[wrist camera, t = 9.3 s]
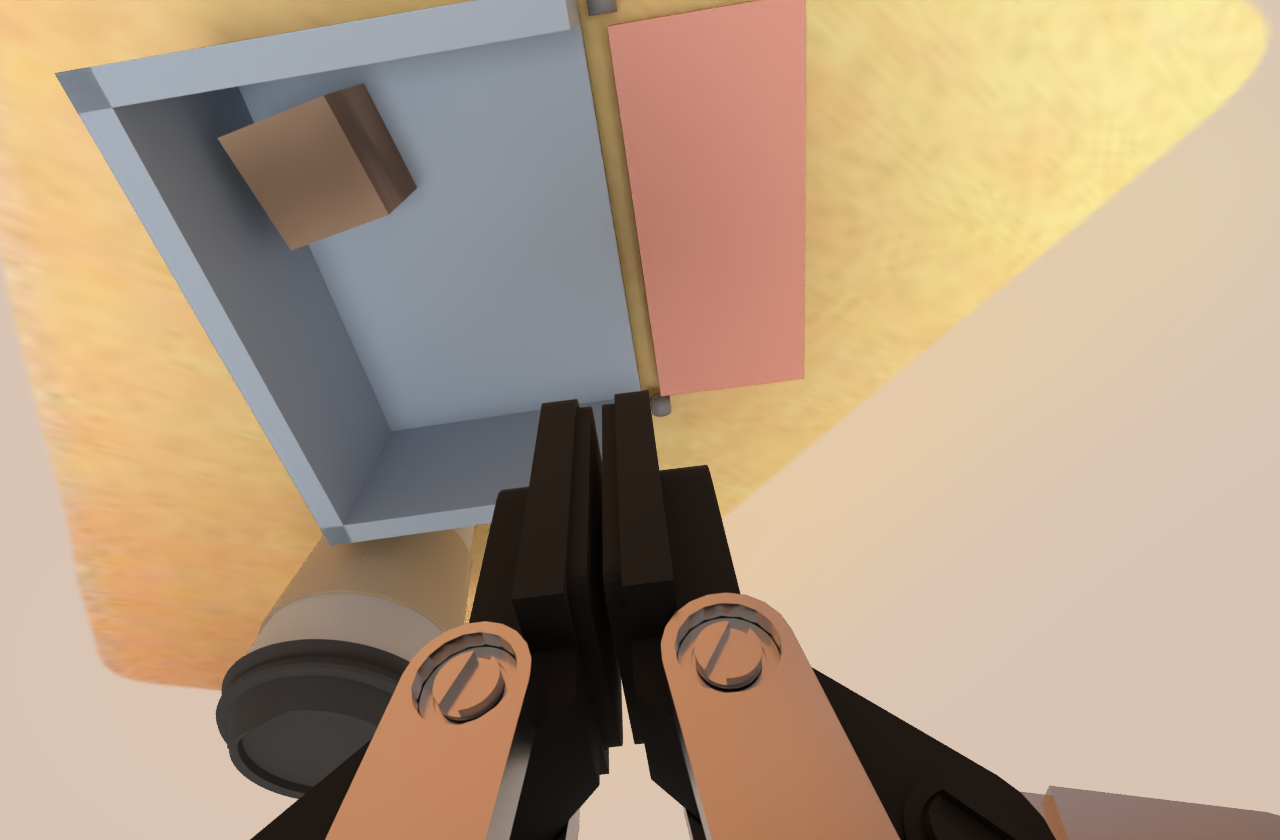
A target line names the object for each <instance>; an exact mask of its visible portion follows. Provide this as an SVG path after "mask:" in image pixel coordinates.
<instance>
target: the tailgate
mask: <svg viewBox="0 0 1280 840" xmlns="http://www.w3.org/2000/svg"><path fill="white" fill-rule="evenodd" d="M607 28H608V35H609V42H610V48H611V55H612V62H613V69H614V76H615V83H616V90H617V97H618V103H619V110H620V117H621V124H622V131H623V138H624V145H625V152H626V159H627V165H628V172H629V179H630V186H631V193H632V200H633V207H634V214H635V220H636V227H637V234H638V241H639V248H640V255H641V262H642V269H643V276H644V282H645V289H646V296H647V303H648V310H649V317H650V324H651V331H652V338H653V344H654V351H655V358H656V365H657V372H658V379H659V386H660V393H661V396H667V395H675V394H683V393H692V392H700V391H708V390H716V389H724V388H732V387H740V386H748V385H756V384H764V383H772V382H780V381H789V380H797V379H804V286H805V73H806V0H758V1H752V2H746V3H740V4H734V5H728V6H722V7H717V8H711V9H705V10H699V11H693V12H687V13H681V14H675V15H669V16H663V17H658V18H652V19H646V20H640V21H634V22H628V23H622V24H616V25H610V26H608V27H607Z"/></svg>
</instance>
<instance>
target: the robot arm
mask: <svg viewBox="0 0 1280 840" xmlns="http://www.w3.org/2000/svg"><path fill="white" fill-rule="evenodd" d="M614 402H615V403H613V404H605V405H602V459H601V453H600V447H599V442H598V436H597V430H596V425H595V419H594V414H593V409H592V406H588V407H580V406H579V402H578V400H577V399H571V400H563V401H555V402H547V403H542V406H541V412H540V418H539V424H538V431H537V437H536V444H535V450H534V456H533V463H532V469H531V476H530V482H529V487H521V488H513V489H505V490H501V491H500V492H499V493H498V496H497V499H496V504H495V508H494V513H493V517H492V522H491V526H490V531H489V535H488V540H487V544H486V549H485V553H484V558H483V563H482V567H481V572H480V576H479V581H478V585H477V590H476V594H475V599H474V603H473V608H472V612H471V617H470V621H469V623H468V624H464V625H461V626H459V627H456V628H453V629H451V630H448V631H446V632H444V633H443V634H441V635H439V636H438V637H436V638H435V639H433V640H432V641H430V642H428V643H427V644H426V645H425V646H424V647H423V648H422V649H421V650H420V651H419V652H418V653H417V654H416V655H415V656H414V657H413V659H412V660H411V662H410V663H409V665H408V666H407V668H406V670H405V671H404V673H403V674H402V676H401V678H400V680H399V683H398V685H397V687H396V689H395V691H394V693H393V695H392V698H391V700H390V702H389V704H388V706H387V708H386V710H385V713H384V715H383V717H382V719H381V721H380V723H379V725H378V728H377V730H376V732H375V734H374V736H373V738H372V739H371V740H370V741H368V742H367V743H366V744H365V745H364V746H362V747H361V748H360V749H359V750H357V751H356V752H355V753H354V754H353V755H351V756H350V757H349V758H348V759H347V760H345V761H344V762H343V763H342V764H341V765H339V766H338V767H337V768H336V769H335V770H333V771H332V772H331V773H330V774H329V775H327V776H326V777H325V778H324V779H323V780H321V781H320V782H319V783H318V784H317V785H315V786H314V787H313V788H312V789H311V790H309V791H308V792H307V793H306V794H305V795H303V796H302V797H301V798H300V799H299V800H297V801H296V802H295V803H294V804H293V805H291V806H290V807H289V808H288V809H287V810H285V811H284V812H283V813H282V814H281V815H279V816H278V817H277V818H276V819H274V820H273V821H272V822H271V823H270V824H268V825H267V826H266V827H265V828H264V829H263V830H261V831H260V832H259V833H258V834H256V835H255V836H254V837H253V838H252V839H251V840H577V838H578V832H579V814H580V810H579V808H580V807H581V806H582V805H583V803H584V802H585V801H586V800H587V799H588V798H589V796H590V795H591V794H592V793H593V792H594V791H595V790H596V788H597V787H598V786H599V775H601V774H609V747H616V746H622V744H623V727H622V696H621V695H622V694H621V680H622V684H623V689H624V694H625V699H626V704H627V709H628V714H629V719H630V724H631V728H632V734H633V739H634V743H635V744H643V743H644V744H645V749H646V754H647V760H648V765H649V770H650V776H651V779H652V780H653V781H654V782H655V783H656V784H658V785H659V786H660V787H661V788H662V789H663V790H665V791H666V792H667V793H668V794H669V795H671V796H672V797H673V798H674V799H675V800H676V801H678V802H679V803H680V804H681V805H682V806H683V808H684V815H685V819H686V823H687V827H688V831H689V835H690V839H691V840H1280V816H1279V815H1275V814H1271V813H1268V812H1260V811H1253V810H1244V809H1236V808H1228V807H1220V806H1212V805H1203V804H1195V803H1186V802H1178V801H1170V800H1162V799H1154V798H1146V797H1138V796H1128V795H1121V794H1113V793H1105V792H1096V791H1088V790H1080V789H1072V788H1064V787H1055V786H1049V788H1048V790H1047V792H1046V794H1045V795H1042V794H1034V793H1026V792H1019V791H1018V790H1016V789H1015V788H1014V787H1012V786H1011V785H1009V784H1008V783H1007V782H1006V781H1004V780H1003V779H1001V778H1000V777H999V776H997V775H996V774H994V773H992V772H990V771H989V770H987V769H985V768H984V767H982V766H980V765H978V764H977V763H975V762H973V761H972V760H970V759H968V758H967V757H965V756H963V755H961V754H960V753H958V752H956V751H955V750H953V749H951V748H949V747H948V746H946V745H944V744H943V743H940V742H939V741H937V740H936V739H934V738H932V737H930V736H929V735H927V734H925V733H924V732H922V731H920V730H918V729H917V728H915V727H913V726H912V725H910V724H908V723H906V722H905V721H903V720H901V719H899V718H898V717H896V716H894V715H893V714H891V713H889V712H888V711H886V710H884V709H882V708H881V707H879V706H877V705H876V704H874V703H872V702H870V701H869V700H867V699H865V698H863V697H862V696H860V695H858V694H857V693H855V692H853V691H851V690H850V689H848V688H846V687H845V686H843V685H841V684H840V683H838V682H836V681H834V680H833V679H831V678H829V677H827V676H826V675H824V674H822V673H821V672H819V671H817V670H816V669H814V668H812V667H811V666H810V664H809V662H808V660H807V658H806V656H805V654H804V652H803V650H802V648H801V646H800V644H799V642H798V640H797V638H796V637H795V635H794V633H793V631H792V629H791V628H790V626H789V625H788V624H787V622H786V621H785V619H784V618H783V617H782V615H781V614H780V613H779V612H777V611H776V610H775V609H773V608H772V607H770V606H769V605H768V604H767V603H765V602H763V601H760V600H758V599H755V598H753V597H750V596H748V595H741V594H740V591H739V587H738V583H737V579H736V575H735V571H734V567H733V563H732V559H731V555H730V551H729V547H728V543H727V539H726V535H725V531H724V527H723V522H722V518H721V514H720V510H719V506H718V502H717V498H716V494H715V490H714V486H713V482H712V478H711V474H710V471H709V468H708V466H707V465H702V466H693V467H685V468H677V469H669V470H661V471H659V466H658V458H657V451H656V443H655V436H654V428H653V421H652V414H651V406H650V399H649V392H648V390H644V391H636V392H628V393H620V394H614Z"/></svg>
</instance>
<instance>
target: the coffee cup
mask: <svg viewBox="0 0 1280 840" xmlns="http://www.w3.org/2000/svg"><path fill="white" fill-rule="evenodd" d="M474 527H475V526H469V527H462V528H454V529H447V530H440V531H433V532H425V533H418V534H411V535H404V536H396V537H389V538H382V539H375V540H367V541H360V542H353V543H346V544H338V545H331V546H330V544H329V543H328V541H327V539H326V537H325V536H324V535H323V536H322V538H321V539H320V541H319V542H318V544H317V545H316V546H315V548H314V549H313V551H312V552H311V554H310V555H309V556H308V558H307V559H306V561H305V562H304V564H303V565H302V567H301V568H300V569H299V571H298V572H297V574H296V575H295V577H294V578H293V579H292V581H291V582H290V584H289V585H288V587H287V588H286V590H285V591H284V592H283V594H282V595H281V597H280V598H279V600H278V601H277V602H276V604H275V605H274V607H273V608H272V610H271V611H270V612H269V614H268V615H267V617H266V618H265V620H264V621H263V623H262V625H261V627H260V630H259V635H258V637H257V639H256V640H255V642H254V643H253V645H252V646H251V648H250V649H249V651H248V652H247V654H246V655H245V656H244V657H242V658H241V659H239V660H238V661H237V662H236V663H235V664H234V665H233V666H232V667H231V668H230V669H229V671H228V672H227V674H226V675H225V678H224V680H223V684H222V696H221V698H220V700H219V703H218V705H217V710H216V721H217V725H218V728H219V731H220V734H221V736H222V737H223V739H224V741H225V742H226V743H227V748H228V749H229V753H230V757H231V760H232V762H233V764H234V765H235V767H236V768H237V769H238V770H239V771H240V772H241V773H242V774H243V775H244V776H245V777H246V778H248V779H249V780H251V781H252V782H254V783H256V784H257V785H259V786H261V787H263V788H265V789H268V790H270V791H273V792H275V793H278V794H281V795H284V796H288V797H292V798H297V799H300V798H301V797H302V796H303V795H305V794H306V793H307V792H308V791H309V790H311V789H312V788H313V787H314V786H315V785H317V784H318V783H319V782H320V781H321V780H323V779H324V778H325V777H326V776H327V775H329V774H330V773H331V772H332V771H333V770H335V769H336V768H337V767H338V766H339V765H341V764H342V763H343V762H344V761H345V760H347V759H348V758H349V757H350V756H351V755H353V754H354V753H355V752H356V751H357V750H359V749H360V748H361V747H362V746H364V745H365V744H366V743H367V742H368V741H370V740H371V739H372V738H373V736H374V734H375V732H376V730H377V728H378V725H379V723H380V721H381V719H382V717H383V715H384V713H385V710H386V708H387V706H388V704H389V702H390V700H391V698H392V695H393V693H394V691H395V689H396V687H397V685H398V683H399V680H400V678H401V676H402V674H403V673H404V671H405V670H406V668H407V666H408V665H409V663H410V662H411V660H412V659H413V657H414V656H415V655H416V654H417V653H418V652H419V651H420V650H421V649H422V648H423V647H424V646H425V645H426V644H427V643H428V642H430V641H432V640H433V639H435V638H436V637H438V636H439V635H441V634H443V633H444V632H446V631H448V630H451V629H453V628H456V627H459V626H461V625H464V620H465V612H466V605H467V597H468V590H469V582H470V574H471V556H470V555H471V548H472V541H473V534H474Z"/></svg>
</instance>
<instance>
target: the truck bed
mask: <svg viewBox="0 0 1280 840" xmlns="http://www.w3.org/2000/svg"><path fill="white" fill-rule="evenodd" d="M587 3H588V9H589V16H593V15H599V14H605V13H610V12H616V11H617V8H616V0H587ZM55 75H56V77H57V78H58V80H59V82H60V83H61V85H62V87H63V89H64V90H65V92H66V94H67V95H68V97H69V99H70V101H71V102H72V104H73V106H74V107H75V109H76V111H77V113H78V114H79V116H80V118H81V119H82V121H83V123H84V125H85V126H86V128H87V130H88V131H89V133H90V135H91V137H92V138H93V140H94V142H95V143H96V145H97V147H98V149H99V150H100V152H101V154H102V155H103V157H104V159H105V161H106V162H107V164H108V166H109V167H110V169H111V171H112V173H113V174H114V176H115V178H116V179H117V181H118V183H119V185H120V186H121V188H122V190H123V191H124V193H125V195H126V196H127V198H128V200H129V202H130V203H131V205H132V207H133V208H134V210H135V212H136V214H137V215H138V217H139V219H140V220H141V222H142V224H143V226H144V227H145V229H146V231H147V232H148V234H149V236H150V238H151V239H152V241H153V243H154V244H155V246H156V248H157V250H158V251H159V253H160V255H161V256H162V258H163V260H164V262H165V263H166V265H167V267H168V268H169V270H170V272H171V274H172V275H173V277H174V279H175V280H176V282H177V284H178V286H179V287H180V289H181V291H182V292H183V294H184V296H185V298H186V299H187V301H188V303H189V304H190V306H191V308H192V310H193V311H194V313H195V315H196V316H197V318H198V320H199V322H200V323H201V325H202V327H203V328H204V330H205V332H206V334H207V335H208V337H209V339H210V340H211V342H212V344H213V346H214V347H215V349H216V351H217V352H218V354H219V356H220V358H221V359H222V361H223V363H224V364H225V366H226V368H227V369H228V371H229V373H230V375H231V376H232V378H233V380H234V381H235V383H236V385H237V387H238V388H239V390H240V392H241V393H242V395H243V397H244V399H245V400H246V402H247V404H248V405H249V407H250V409H251V411H252V412H253V414H254V416H255V417H256V419H257V421H258V423H259V424H260V426H261V428H262V429H263V431H264V433H265V435H266V436H267V438H268V440H269V441H270V443H271V445H272V447H273V448H274V450H275V452H276V453H277V455H278V457H279V459H280V460H281V462H282V464H283V465H284V467H285V469H286V471H287V472H288V474H289V476H290V477H291V479H292V481H293V483H294V484H295V486H296V488H297V489H298V491H299V493H300V495H301V496H302V498H303V500H304V501H305V503H306V505H307V507H308V508H309V510H310V512H311V513H312V515H313V517H314V519H315V520H316V522H317V524H318V525H319V527H320V529H321V531H322V532H323V534H324V536H325V537H326V539H327V541H328V543H329V544H330V546H331V545H338V544H346V543H353V542H360V541H367V540H375V539H382V538H389V537H396V536H404V535H411V534H418V533H425V532H433V531H440V530H447V529H454V528H462V527H469V526H476V525H483V524H491V522H492V517H493V513H494V508H495V504H496V499H497V496H498V493H499V492H500V491H501V490H505V489H513V488H521V487H529V482H530V476H531V469H532V463H533V456H534V450H535V444H536V437H537V431H538V424H539V418H540V412H541V406H542V403H547V402H555V401H563V400H571V399H577V400H578V402H579V406H580V407H588V406H592V409H593V414H594V419H595V425H596V430H597V436H598V442H599V447H600V453H601V459H602V405H605V404H613V403H615V402H614V394H620V393H628V392H636V391H641V385H640V379H639V373H638V367H637V361H636V355H635V349H634V343H633V337H632V331H631V325H630V319H629V313H628V307H627V301H626V295H625V288H624V282H623V276H622V270H621V264H620V258H619V252H618V246H617V240H616V234H615V228H614V222H613V216H612V210H611V204H610V198H609V191H608V185H607V179H606V173H605V167H604V161H603V155H602V149H601V143H600V137H599V131H598V125H597V119H596V113H595V107H594V101H593V95H592V88H591V82H590V76H589V70H588V64H587V58H586V52H585V46H584V40H583V34H582V28H581V22H580V16H579V10H578V4H577V0H473V1H467V2H462V3H456V4H450V5H444V6H439V7H433V8H427V9H421V10H415V11H410V12H404V13H398V14H392V15H387V16H381V17H375V18H369V19H364V20H358V21H352V22H346V23H341V24H335V25H329V26H323V27H318V28H312V29H306V30H300V31H295V32H289V33H283V34H277V35H272V36H266V37H260V38H254V39H249V40H243V41H237V42H231V43H226V44H220V45H214V46H208V47H203V48H197V49H191V50H185V51H180V52H174V53H168V54H162V55H157V56H151V57H145V58H139V59H134V60H128V61H122V62H116V63H111V64H105V65H99V66H93V67H88V68H82V69H76V70H70V71H65V72H59V73H55ZM363 83H364V84H365V86H366V88H367V90H368V92H369V94H370V96H371V98H372V100H373V102H374V104H375V106H376V108H377V110H378V112H379V114H380V116H381V118H382V120H383V121H384V123H385V125H386V127H387V129H388V131H389V133H390V135H391V137H392V139H393V141H394V143H395V145H396V147H397V149H398V151H399V153H400V155H401V157H402V159H403V161H404V163H405V165H406V167H407V169H408V171H409V172H410V174H411V176H412V178H413V180H414V182H415V184H416V186H417V189H416V190H415V191H414V192H412V193H411V194H410V195H409V196H408V197H407V198H406V199H405V200H404V201H403V202H402V203H401V204H400V205H399V206H398V207H397V208H396V209H394V210H393V211H392V212H391V213H390V214H389V215H387V216H384V217H381V218H379V219H376V220H373V221H370V222H368V223H365V224H362V225H360V226H357V227H354V228H351V229H349V230H346V231H343V232H340V233H338V234H335V235H332V236H330V237H327V238H324V239H321V240H319V241H316V242H313V243H310V244H308V245H305V246H302V247H300V248H297V249H294V250H290V248H289V247H288V245H287V244H286V242H285V241H284V239H283V238H282V236H281V235H280V233H279V232H278V230H277V228H276V227H275V225H274V224H273V222H272V221H271V219H270V218H269V216H268V215H267V213H266V212H265V210H264V209H263V207H262V206H261V204H260V203H259V201H258V200H257V198H256V196H255V195H254V193H253V192H252V190H251V189H250V187H249V186H248V184H247V183H246V181H245V180H244V178H243V177H242V175H241V174H240V172H239V171H238V169H237V168H236V166H235V164H234V163H233V161H232V160H231V158H230V157H229V155H228V154H227V152H226V151H225V149H224V148H223V146H222V145H221V143H220V142H219V140H218V139H217V138H219V137H221V136H224V135H226V134H229V133H231V132H234V131H236V130H239V129H241V128H244V127H246V126H249V125H251V124H254V123H256V122H259V121H261V120H264V119H266V118H269V117H271V116H274V115H276V114H279V113H281V112H284V111H286V110H288V109H291V108H293V107H296V106H298V105H301V104H303V103H306V102H308V101H311V100H313V99H316V98H318V97H321V96H323V95H327V94H330V93H333V92H336V91H340V90H343V89H346V88H350V87H353V86H356V85H359V84H363ZM650 403H651V410H652V414H653V415H654V416H657V417H662V416H666V415H668V414H670V413H671V404H670V396H669V395H667V396H661V393H656V394H654V395H652V396H651V397H650Z"/></svg>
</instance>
